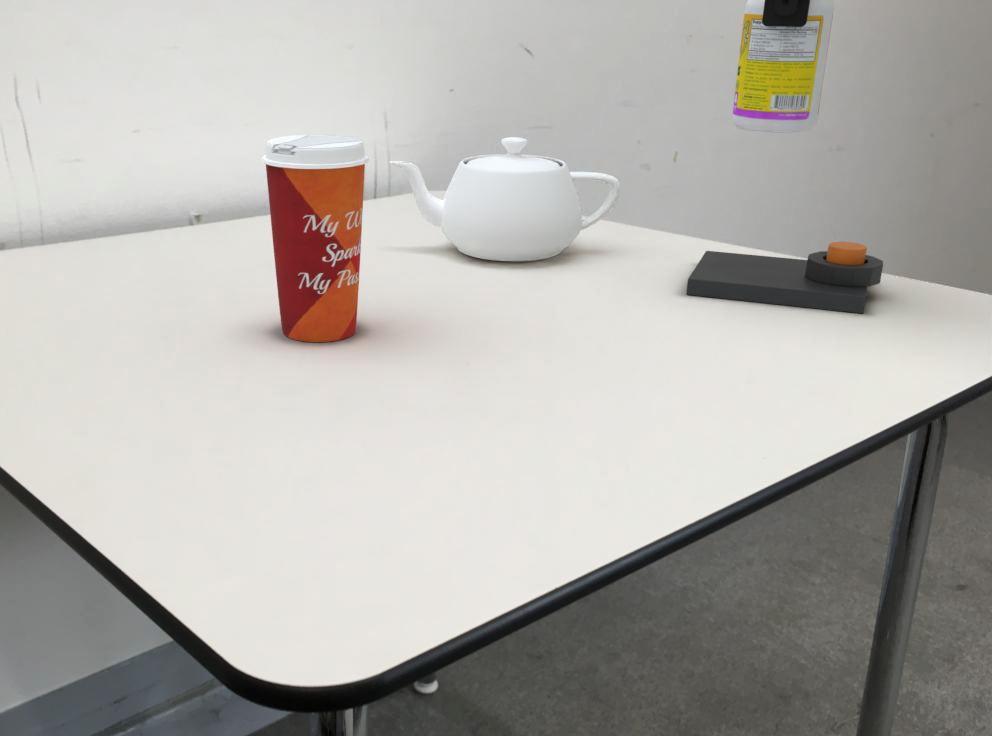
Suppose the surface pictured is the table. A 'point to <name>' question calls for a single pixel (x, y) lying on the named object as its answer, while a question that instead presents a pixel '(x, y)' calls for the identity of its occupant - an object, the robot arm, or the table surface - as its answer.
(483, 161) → the teapot
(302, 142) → the paper cup
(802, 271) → the scale
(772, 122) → the supplement bottle
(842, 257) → the tare button
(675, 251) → the table surface
